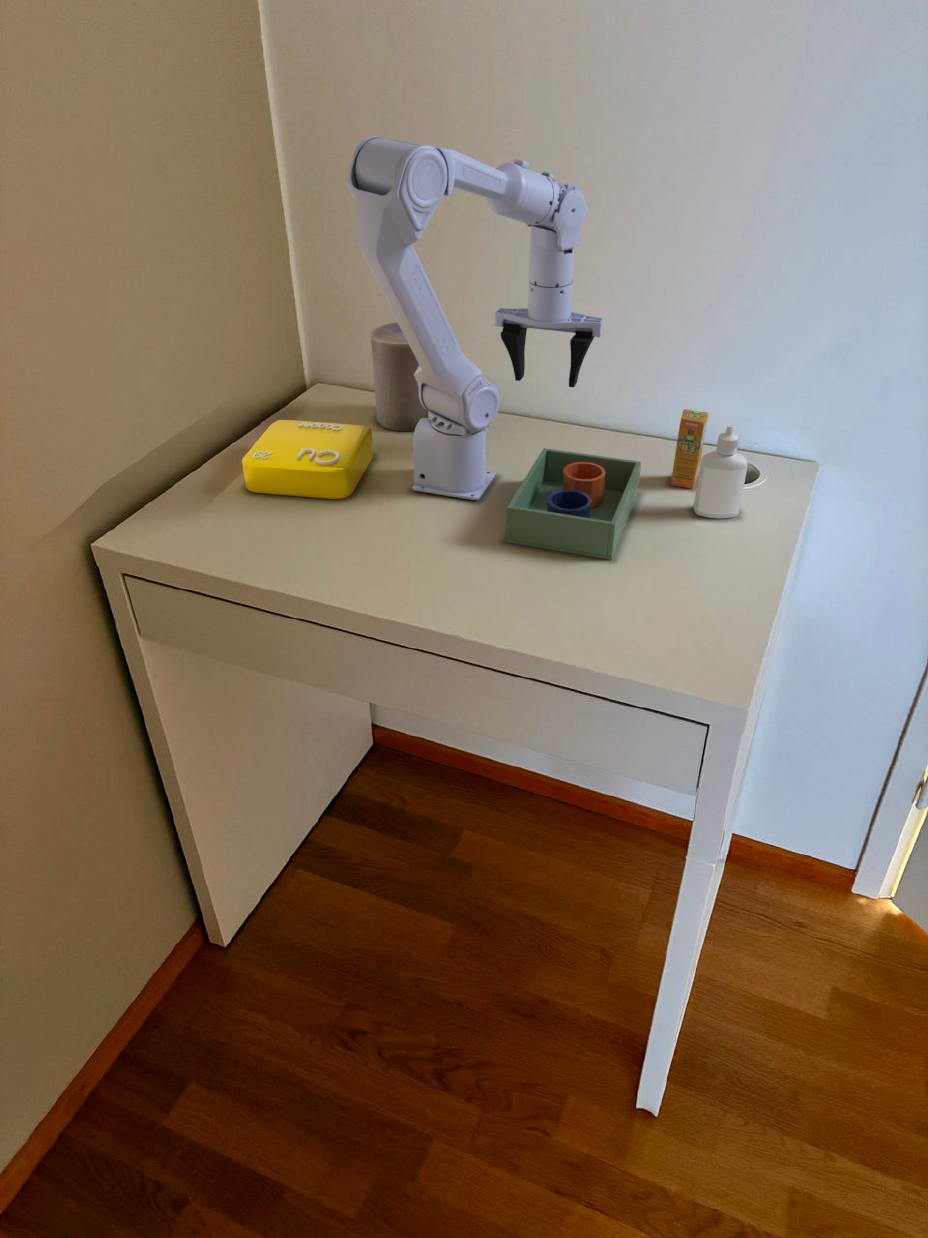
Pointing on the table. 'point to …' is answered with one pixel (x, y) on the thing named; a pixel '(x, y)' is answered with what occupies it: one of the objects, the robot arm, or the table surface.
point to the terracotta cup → (585, 480)
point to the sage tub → (567, 531)
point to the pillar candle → (395, 379)
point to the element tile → (308, 459)
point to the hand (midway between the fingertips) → (546, 381)
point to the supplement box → (689, 448)
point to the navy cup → (570, 503)
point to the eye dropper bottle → (721, 479)
